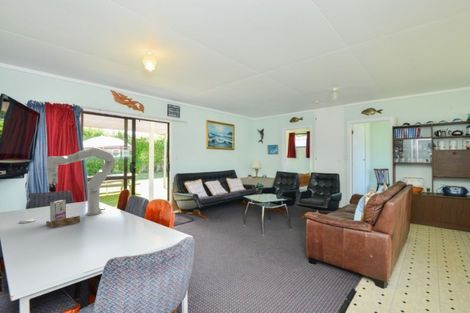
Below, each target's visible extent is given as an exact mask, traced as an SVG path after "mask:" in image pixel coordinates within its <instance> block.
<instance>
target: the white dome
mask: <svg viewBox="0 0 470 313" xmlns="http://www.w3.org/2000/svg"><path fill="white" fill-rule="evenodd" d="M36 221H37V220H36V218H25V219H21V220H19V223H18V224H29V223H34V222H36Z"/></svg>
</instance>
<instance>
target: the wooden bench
mask: <svg viewBox="0 0 470 313" xmlns="http://www.w3.org/2000/svg"><path fill="white" fill-rule="evenodd" d="M80 222H81V216H80V215H77V216H76V215H75V216H70V217H66V218H64V219H58V220H53V221H51V222H50V221H49V220H46V226H48V227H49V228H57V227H61V226H67V225H71V224H78V223H80Z"/></svg>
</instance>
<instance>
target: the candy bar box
mask: <svg viewBox="0 0 470 313" xmlns="http://www.w3.org/2000/svg"><path fill="white" fill-rule="evenodd" d="M66 203H67V200H66V199H59V200H56V201H55V200H54V201H52V202H49V209H50V210H49V211H50V214H49V216H50V217H49V219H50V221H49V222H51V221H53V220H58V219H64V218H67V213H66V212H67V206H66V205H67V204H66Z"/></svg>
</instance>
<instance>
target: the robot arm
mask: <svg viewBox="0 0 470 313" xmlns="http://www.w3.org/2000/svg"><path fill="white" fill-rule="evenodd" d="M91 158H98V159H100V160H103V161H104V163H103V165H102V166H101V167H100V168H99V170H98V171H97V172H95V174H94V175H93V176H92V177H91V178H90V180H89V181H88V182H87V184H86V189H87V212H85V215H86V216H96V215H99V214H101V213H102V211H105V210H106V208H105V207H100V191H101V190H100V189H101V188H100V187H101V186H102V184H103V183H104V181H105V180H106V179H107V178H108V175H109V174H110V172H111V171H112V169H113V168H114V166H115V163H116V162H115V161H116V160H115V157H114V155H113V154H112V152H110V151H107V150H104V149H102V148H100V147H97V146H93V147H91V148H90V147H89V148H87V149H83V150H79V151H76V152H75V153H71V154H69V155H61V156H56V155H55V156H47V158H46V173H47V183H48V184H49V189H48V190H49V192H51V193H53V192H54V193H55V192H56V190H57V189H56V187H57V186H56V184H58V183H59V177H58V173H59V165H60V166H61V165H63V166H64V165H68V164H71V163H75V162H81V161H85V160H87V159H91Z"/></svg>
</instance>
